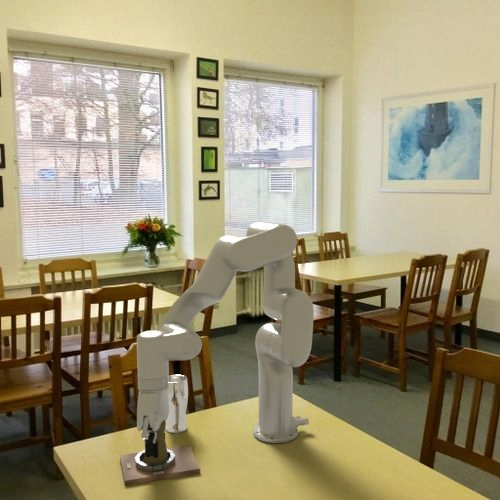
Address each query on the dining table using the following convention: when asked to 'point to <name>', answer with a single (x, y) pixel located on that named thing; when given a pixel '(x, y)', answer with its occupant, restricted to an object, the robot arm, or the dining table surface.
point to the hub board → (181, 467)
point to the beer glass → (177, 404)
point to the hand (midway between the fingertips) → (155, 451)
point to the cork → (159, 447)
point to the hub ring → (154, 467)
